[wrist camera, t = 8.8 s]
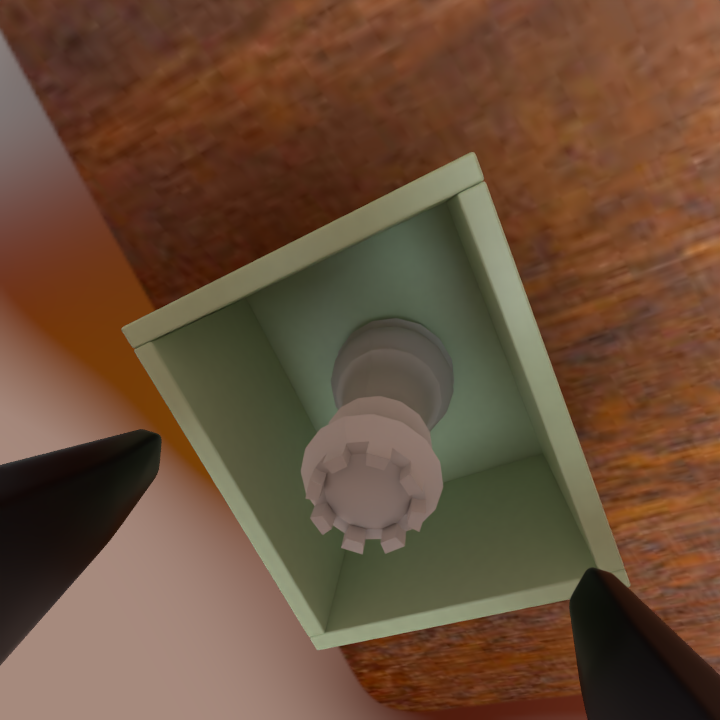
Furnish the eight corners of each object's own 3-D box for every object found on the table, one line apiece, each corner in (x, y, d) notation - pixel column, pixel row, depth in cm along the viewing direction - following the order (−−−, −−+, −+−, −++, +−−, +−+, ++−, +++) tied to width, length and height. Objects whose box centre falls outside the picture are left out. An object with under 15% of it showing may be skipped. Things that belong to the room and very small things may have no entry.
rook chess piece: (319, 336, 16) (226, 440, 9) (432, 298, 15) (434, 379, 8) (360, 437, 18) (309, 604, 10) (468, 408, 16) (501, 571, 9)
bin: (558, 452, 17) (632, 587, 11) (352, 513, 20) (316, 651, 13) (455, 177, 14) (474, 149, 8) (232, 286, 17) (119, 328, 11)
